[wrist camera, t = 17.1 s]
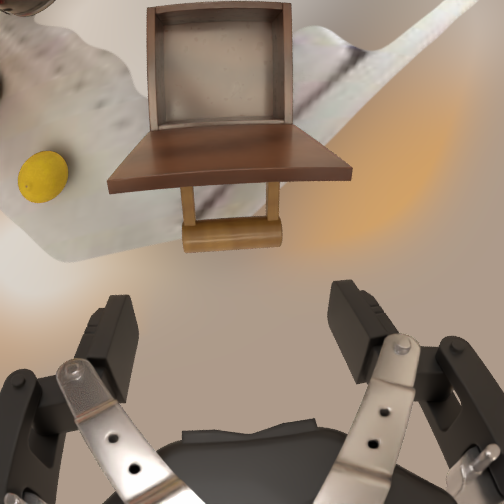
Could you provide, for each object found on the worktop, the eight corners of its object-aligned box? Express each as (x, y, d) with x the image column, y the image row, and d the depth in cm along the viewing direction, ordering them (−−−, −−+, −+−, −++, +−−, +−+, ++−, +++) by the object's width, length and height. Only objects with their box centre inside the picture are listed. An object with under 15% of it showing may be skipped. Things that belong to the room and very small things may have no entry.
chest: (157, 21, 27) (146, 7, 21) (277, 17, 28) (291, 2, 23) (160, 128, 33) (150, 135, 27) (278, 122, 34) (292, 127, 29)
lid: (106, 180, 15) (126, 272, 18) (353, 167, 17) (340, 257, 20) (149, 131, 27) (155, 190, 30) (294, 124, 28) (291, 182, 31)
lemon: (81, 149, 32) (51, 164, 25) (74, 193, 34) (46, 217, 27) (42, 142, 31) (8, 156, 24) (37, 185, 33) (5, 207, 26)
